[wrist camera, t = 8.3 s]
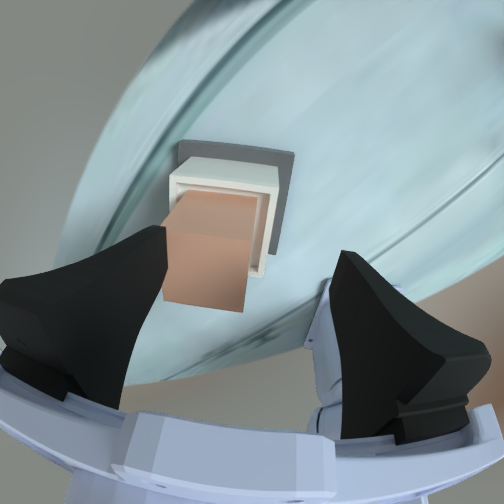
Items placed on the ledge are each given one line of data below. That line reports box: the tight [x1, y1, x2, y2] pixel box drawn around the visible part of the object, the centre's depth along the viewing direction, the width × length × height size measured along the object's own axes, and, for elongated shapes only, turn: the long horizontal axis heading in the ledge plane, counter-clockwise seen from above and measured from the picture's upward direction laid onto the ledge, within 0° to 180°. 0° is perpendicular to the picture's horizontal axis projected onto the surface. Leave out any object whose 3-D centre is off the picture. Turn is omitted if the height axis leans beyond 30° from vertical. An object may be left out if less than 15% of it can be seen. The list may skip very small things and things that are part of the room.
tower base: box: [169, 139, 295, 279], centre depth 19 cm, size 8×8×6 cm
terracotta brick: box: [160, 190, 258, 313], centre depth 15 cm, size 4×4×5 cm
